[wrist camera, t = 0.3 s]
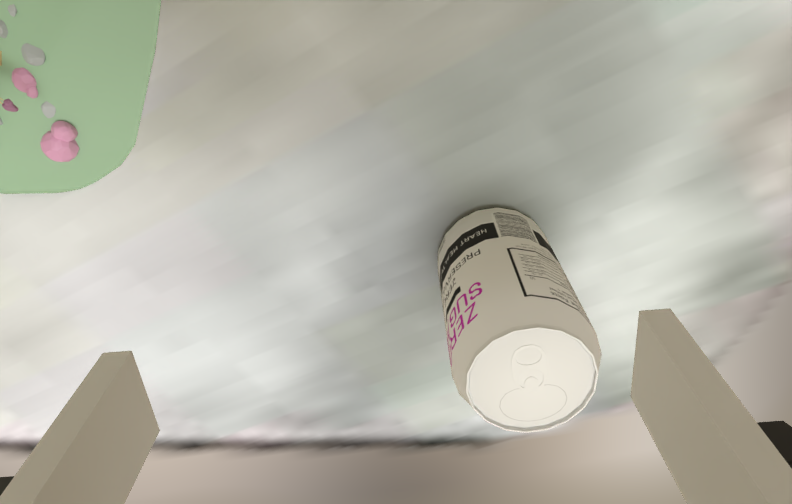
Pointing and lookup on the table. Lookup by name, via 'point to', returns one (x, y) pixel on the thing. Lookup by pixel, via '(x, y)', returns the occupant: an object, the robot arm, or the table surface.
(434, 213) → the table surface
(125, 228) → the table surface
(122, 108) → the miniature tree diorama
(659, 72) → the table surface
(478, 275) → the supplement can
